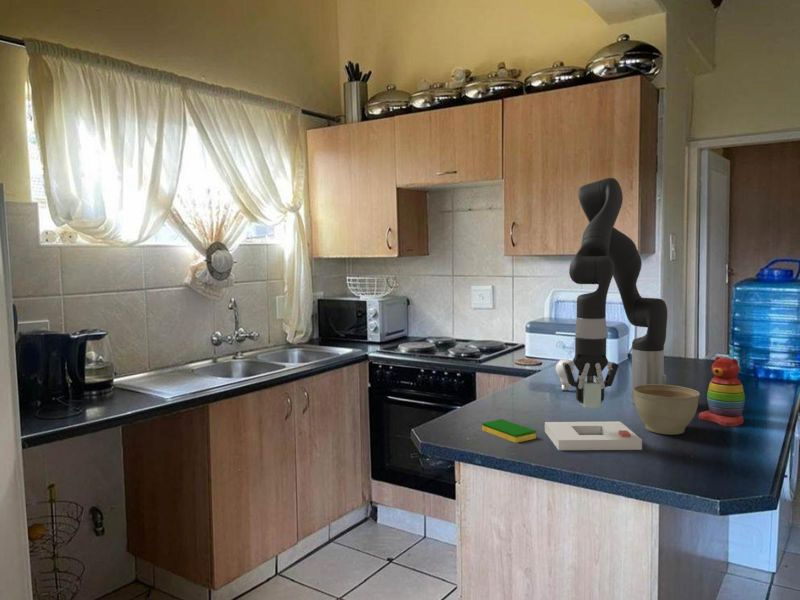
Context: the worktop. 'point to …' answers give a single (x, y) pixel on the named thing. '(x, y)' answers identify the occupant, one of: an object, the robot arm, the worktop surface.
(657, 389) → the planter bowl
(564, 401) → the worktop surface
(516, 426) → the dish sponge
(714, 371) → the stacking bear
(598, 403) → the plug
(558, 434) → the socket plate
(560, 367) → the lightbulb
